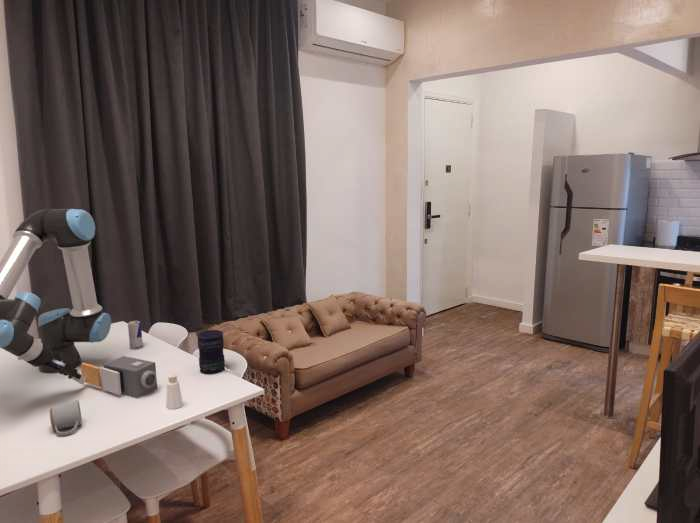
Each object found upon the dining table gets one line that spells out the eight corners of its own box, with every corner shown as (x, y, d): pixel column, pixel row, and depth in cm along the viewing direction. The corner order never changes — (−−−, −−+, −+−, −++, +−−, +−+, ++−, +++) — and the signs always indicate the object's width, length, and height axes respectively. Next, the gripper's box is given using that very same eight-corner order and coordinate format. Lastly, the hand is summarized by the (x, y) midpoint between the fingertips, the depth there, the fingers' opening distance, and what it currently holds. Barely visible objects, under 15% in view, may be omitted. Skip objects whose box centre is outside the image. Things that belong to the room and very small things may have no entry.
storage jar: (217, 363, 208) (215, 328, 205) (229, 369, 201) (227, 333, 198) (194, 369, 201) (192, 334, 198) (207, 376, 194) (204, 339, 191)
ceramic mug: (52, 424, 159) (49, 401, 157) (81, 417, 163) (78, 395, 161) (52, 440, 150) (48, 416, 148) (82, 433, 154) (80, 409, 152)
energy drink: (145, 346, 228) (143, 321, 225) (137, 350, 223) (134, 324, 221) (136, 345, 229) (133, 320, 227) (127, 349, 224) (125, 323, 222)
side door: (83, 383, 187) (80, 361, 185) (86, 382, 188) (83, 360, 186) (118, 395, 176) (116, 372, 175) (121, 394, 177) (119, 371, 176)
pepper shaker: (173, 411, 167) (171, 379, 165) (162, 407, 169) (160, 376, 167) (186, 404, 171) (184, 374, 169) (175, 400, 174) (173, 370, 172)
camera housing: (105, 390, 183) (102, 363, 181) (125, 380, 191) (123, 354, 189) (141, 399, 175) (139, 371, 173) (161, 389, 183) (159, 361, 181)
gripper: (14, 359, 167) (65, 387, 185) (39, 365, 161) (90, 393, 179) (28, 339, 171) (77, 368, 188) (53, 344, 165) (101, 374, 183)
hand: (83, 380), depth 184 cm, fingers closed
